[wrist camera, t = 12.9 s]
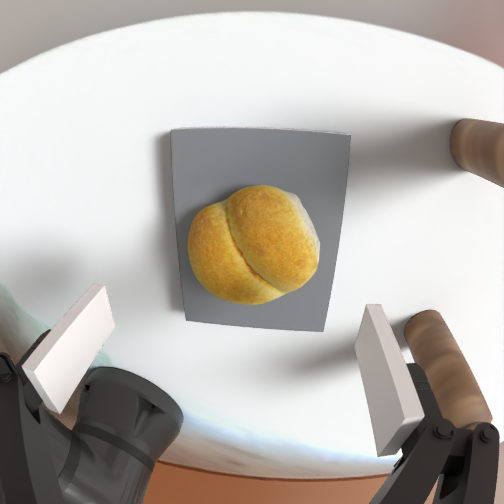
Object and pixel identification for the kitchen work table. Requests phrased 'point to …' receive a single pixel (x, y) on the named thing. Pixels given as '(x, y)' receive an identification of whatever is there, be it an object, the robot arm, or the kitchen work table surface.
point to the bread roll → (253, 246)
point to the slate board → (253, 174)
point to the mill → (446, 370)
